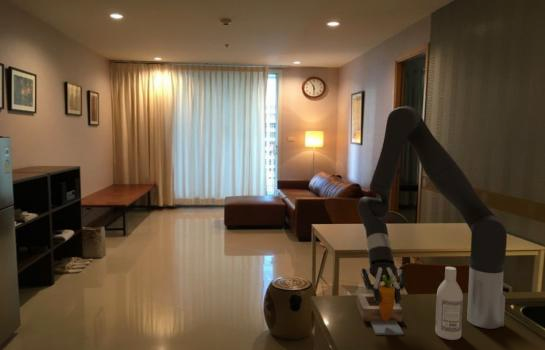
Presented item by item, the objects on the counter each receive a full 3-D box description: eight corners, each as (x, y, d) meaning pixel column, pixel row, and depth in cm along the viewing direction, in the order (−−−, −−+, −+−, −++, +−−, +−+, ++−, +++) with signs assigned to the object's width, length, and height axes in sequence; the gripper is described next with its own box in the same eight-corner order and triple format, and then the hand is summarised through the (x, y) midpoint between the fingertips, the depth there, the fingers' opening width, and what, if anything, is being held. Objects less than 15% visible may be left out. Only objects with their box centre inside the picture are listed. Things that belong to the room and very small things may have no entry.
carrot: (391, 318, 125) (392, 271, 123) (396, 326, 120) (398, 277, 118) (375, 318, 125) (376, 271, 123) (380, 326, 120) (381, 277, 118)
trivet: (396, 322, 126) (396, 320, 126) (403, 335, 118) (403, 333, 118) (370, 322, 127) (370, 320, 127) (375, 334, 119) (375, 332, 119)
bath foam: (466, 338, 116) (469, 271, 114) (445, 342, 114) (448, 273, 112) (450, 327, 123) (453, 263, 121) (430, 330, 121) (432, 265, 119)
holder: (391, 305, 139) (392, 293, 138) (402, 321, 127) (402, 309, 126) (356, 304, 139) (356, 293, 139) (363, 321, 127) (363, 308, 127)
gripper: (359, 245, 128) (365, 297, 117) (405, 245, 127) (416, 298, 117) (355, 256, 134) (361, 307, 123) (399, 256, 133) (409, 307, 123)
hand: (388, 302), depth 120 cm, fingers closed on carrot, 5 cm apart
